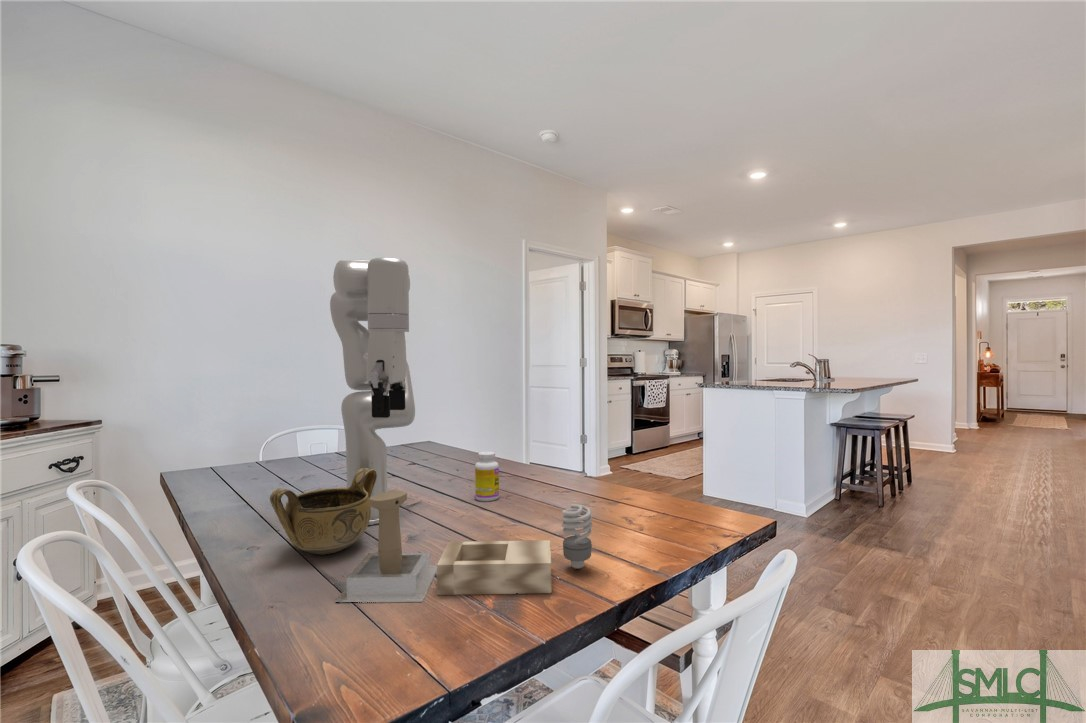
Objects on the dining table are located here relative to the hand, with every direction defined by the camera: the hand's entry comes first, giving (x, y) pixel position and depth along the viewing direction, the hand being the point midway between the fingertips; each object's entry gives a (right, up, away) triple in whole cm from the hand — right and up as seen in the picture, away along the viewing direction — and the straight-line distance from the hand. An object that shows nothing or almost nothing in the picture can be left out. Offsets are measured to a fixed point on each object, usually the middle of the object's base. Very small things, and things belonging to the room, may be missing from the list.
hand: (389, 413), depth 96 cm
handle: (+3, -29, -8) cm, 30 cm away
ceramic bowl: (-15, -30, +8) cm, 34 cm away
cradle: (+3, -29, -9) cm, 30 cm away
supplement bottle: (+14, -29, +44) cm, 55 cm away
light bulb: (+36, -29, -4) cm, 46 cm away
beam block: (+21, -29, -8) cm, 37 cm away
